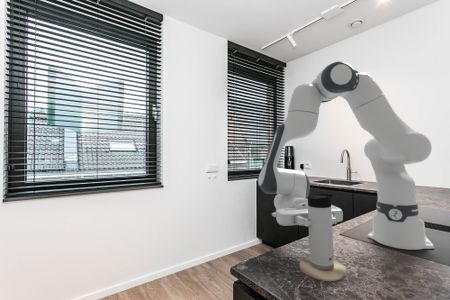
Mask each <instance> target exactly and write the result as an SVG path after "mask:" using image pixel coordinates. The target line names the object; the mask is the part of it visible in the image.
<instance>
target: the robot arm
mask: <svg viewBox="0 0 450 300" xmlns="http://www.w3.org/2000/svg"><path fill="white" fill-rule="evenodd" d="M315 77H316V78H315V79H314V80H313V81H312V82H311V83H304V84H303V83H302V84H299V85H297V86H296V87H295V88H294V90H293V92H292V94H291V98H290V101H289V105H288V111H287V116H286V118H285V120H284V122H283V123H282V124H279V125H278V126H277V127H276V129H275V131H274V133H273V136H272V140H271V142H270V145H269V148H268V151H267V154H266V157H265V160H264V163H263V165H262V168H261V170H260V172H259V175H258V181H257V184H258V187H259V189H260V190H261V191H262V192H263V193H264V194H267V195H268V194H269V195H275V197H274V200H273V204H274V207H275V211H274V212H271V216H272V217H274V218H276V222H277V223H278V224H279V225H280V226H283V227H284V226H285V227H286V226H288V227H289V226H305V227H309V226H312V224H311V220H310V219H308V196H309V194H310V190H311V181H310V179H309V178H308V175H307V174H306V173H305V172H304V171H303V170H298V169H289V168H288V169H287V168H282V167H278V163H279V161H280V158H281V154H282V152H283V148H284V146H285V145H286V144H287V143H288V142H290V141H293V140H297V139H302V138H305V137H308V136H310V135H311V134H312V133H313V132H315V131H316V128H317V125H318V123H319V114H320V106H321V105H322V104H324V103H328V102H331V101H333V100H335V99H337V98H338V97H341V98H343V99H344V100H345V101H346V102H347V103H348V106H349V107H350V110H351V111H352V113H353V114H354V117H355V118H356V120H357V122H358V123H359V125H360V128H362V129H363V130H365V132H368V133H369V134H370V135H371V136H372V138H371V139H369V140H367V142H366V143H365V145H364V150H363V151H364V155H365V157H367V159H368V160H369V162H370V164H371V166H372V170H373V173H374V176H375V181H376V190H377V201H376V211H377V212H376V213H375V214H374V215H372V231H370V233H367V238H369V239H371V240H374V241H376V242H377V243H379V244H382V245H384V246H387V247H391V248H395V249H401V250H410V251H412V250H415V251H416V250H423V249H424V250H425V249H427V250H428V249H429V250H431V249H435V247H434V243H432V242H431V240H430V239H429V238H428V237H427V236H426V235H427V232H426V226H425V222H424V221H423V219H421V218H420V217H419V205H418V203H417V196H416V182H415V180H414V178H412V177H411V176H410V174H409V173H408V172H407V171H408V170H407V169H406V165H412V164H418V163H421V162H423V161H425V160H426V159H428V158H429V157H430V155H431V152H432V143H431V141H430V139H429V138H428V137H427V136H426V135H424V134H422V133H420V132H418V131H416V130H414V129H413V128H411V127H410V126H409V125H408V124H407V123H406V122H405V121H403V119H401V118H400V116H399V115H398V114H397V113H396V112H395V110H394V108H393V107H392V106H391V104H390V102H389V101H388V99H387V97H386V96H385V94H384V92H383V91H382V89H381V87H380V85H378V83H377V82H376V81H375V80H374V78H373V77H372V76H371V75H369V73H366V72H360V73H359V71H358V70H356V69H354V67H353V66H352V65H351V64H350V63H348V62H346V61H343V60H342V61H341V60H340V61H334V62H332V63H330V64H328V65H327V66H325V67H324V69H322V70H321V71H320V72H319V73H318V74H317V76H315ZM331 209H332V225H337V223H338V222H343V219H344V218H343V217H344V214H343V210H342V209H341V208H340V207H337V206H336V205H333V204H331Z"/></svg>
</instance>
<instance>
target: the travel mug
mask: <svg viewBox="0 0 450 300" xmlns="http://www.w3.org/2000/svg"><path fill="white" fill-rule="evenodd" d="M331 198H333V193H329V192H328V193H316V194H311V195H308V197H307V199H308V219H310V220H311V224H312V226H308V245H309V257H310V264H311V265H312V266H313V267H315V268H317V269H321V270H330V269H332V268H333V267H334V260H335V257H334V255H335V254H334V233H333V231H334V230H333V224H332V209H331V205H332V199H331Z"/></svg>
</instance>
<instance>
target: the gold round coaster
mask: <svg viewBox="0 0 450 300" xmlns="http://www.w3.org/2000/svg"><path fill="white" fill-rule="evenodd" d="M299 269H300V272H302V274H305V276H308V277H310V278H311V279H315V280H319V281H323V282H324V281H325V282H337V280H338V281H341V280H343V279H345V278H346V277H347V268H346V266H345V265H344V264H343V263H341V262H339V261H337V260H335V259H334V267H333V268H332V269H330V270H321V269H317V268H315V267H313V266H312V265H311V264H310V256H308V257H305V258H303V259H301V260H300V262H299Z"/></svg>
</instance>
